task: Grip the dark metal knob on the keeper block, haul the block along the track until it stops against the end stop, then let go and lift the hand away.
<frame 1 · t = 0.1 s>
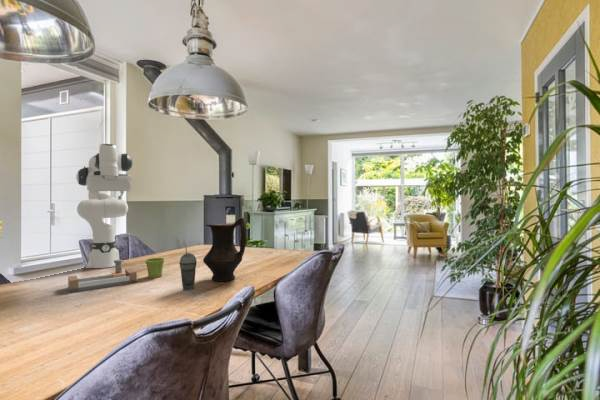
hand: (109, 199, 181), 39 cm above the table, tool pointing down, fingers open, 8 cm apart
plant pot: (155, 277, 172), on the table
track: (103, 285, 157), on the table
beverage cup: (188, 289, 148), on the table
keeper: (118, 269, 160), point 6 cm above the table, slide at 1.0 cm
jug: (225, 279, 165), on the table
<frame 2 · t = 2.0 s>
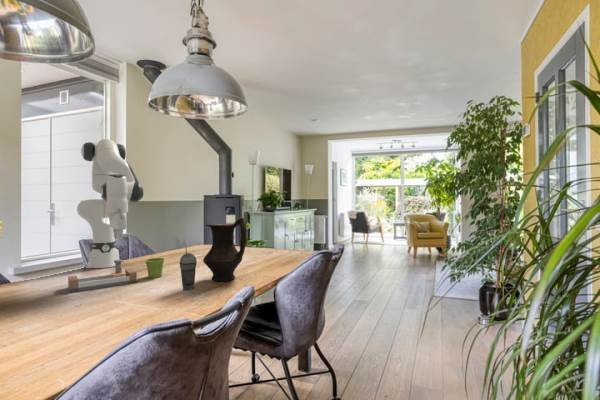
hand: (118, 238, 160), 21 cm above the table, tool pointing down, fingers open, 8 cm apart
nothing on the table moved.
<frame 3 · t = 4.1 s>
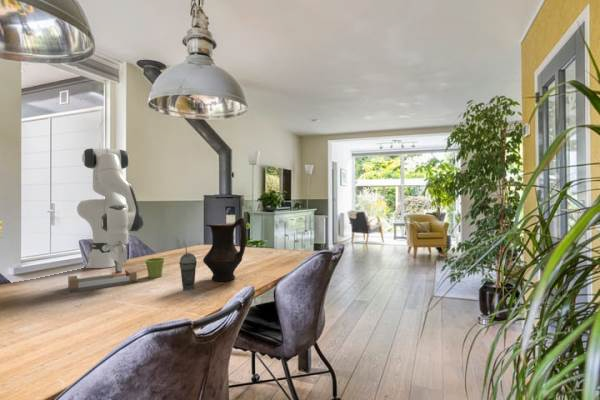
hand: (118, 269, 160), 6 cm above the table, tool pointing down, fingers closed on keeper, 3 cm apart
keeper: (118, 269, 160), point 6 cm above the table, slide at 1.0 cm, touching gripper
everything else where it was.
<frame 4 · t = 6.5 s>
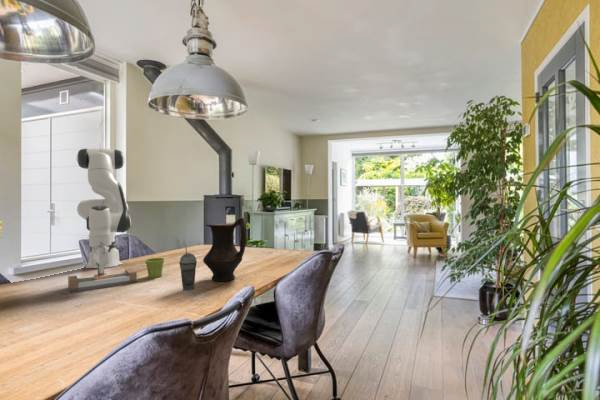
hand: (100, 272, 156), 6 cm above the table, tool pointing down, fingers closed on keeper, 3 cm apart
keeper: (101, 272, 156), point 6 cm above the table, slide at 8.2 cm, touching gripper
everything else where it was.
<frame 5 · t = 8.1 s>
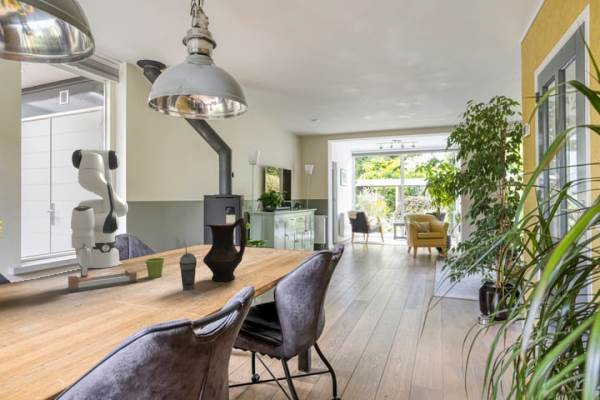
hand: (84, 274, 152), 6 cm above the table, tool pointing down, fingers closed on keeper, 3 cm apart
keeper: (84, 274, 152), point 6 cm above the table, slide at 14.6 cm, touching gripper
everything else where it was.
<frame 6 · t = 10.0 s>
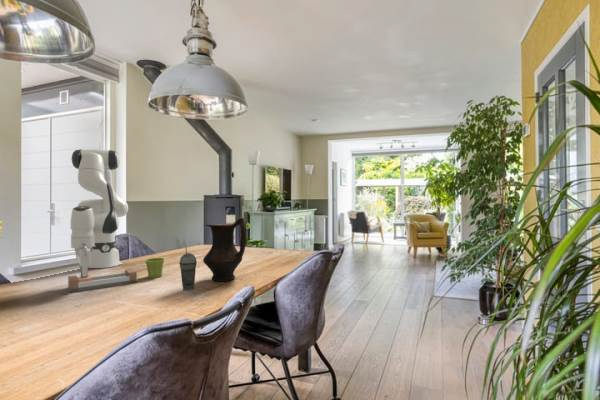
hand: (83, 274, 152), 6 cm above the table, tool pointing down, fingers open, 8 cm apart
keeper: (84, 274, 152), point 6 cm above the table, slide at 14.6 cm
everything else where it was.
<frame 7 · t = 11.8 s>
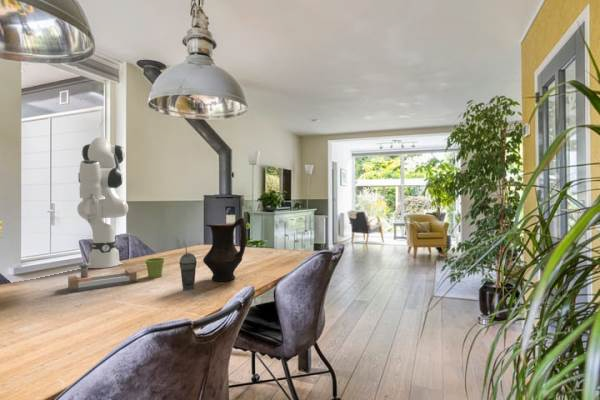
hand: (91, 223, 163), 28 cm above the table, tool pointing down, fingers open, 8 cm apart
nothing on the table moved.
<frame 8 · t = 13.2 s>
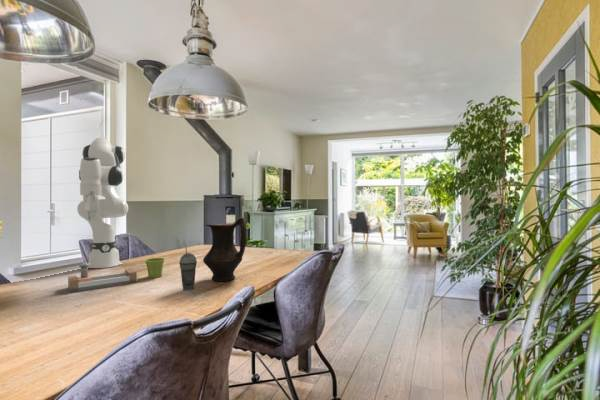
hand: (91, 220, 163), 29 cm above the table, tool pointing down, fingers open, 8 cm apart
nothing on the table moved.
at the end: keeper slide at 14.6 cm; the gripper is holding nothing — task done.
